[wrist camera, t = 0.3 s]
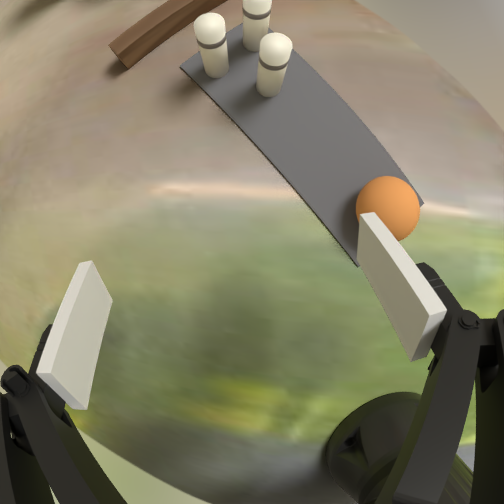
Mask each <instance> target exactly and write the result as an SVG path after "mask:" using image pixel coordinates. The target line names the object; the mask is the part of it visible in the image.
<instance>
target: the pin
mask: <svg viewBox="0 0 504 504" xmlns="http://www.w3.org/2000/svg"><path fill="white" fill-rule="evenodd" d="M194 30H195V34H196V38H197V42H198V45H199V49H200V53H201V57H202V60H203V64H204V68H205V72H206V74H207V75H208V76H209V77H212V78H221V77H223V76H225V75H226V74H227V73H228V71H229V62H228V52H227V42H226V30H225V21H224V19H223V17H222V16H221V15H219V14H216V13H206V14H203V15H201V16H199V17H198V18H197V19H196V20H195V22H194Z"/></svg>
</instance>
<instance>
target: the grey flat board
mask: <svg viewBox="0 0 504 504" xmlns="http://www.w3.org/2000/svg"><path fill="white" fill-rule="evenodd" d="M269 33H274V32H273V31H272V30H271V29H269V28H268V34H269ZM226 42H227V52H228V62H229V71H228V73H227V74H226V75H225V76H223V77H221V78H212V77H209V76H208V75H207V74H206V72H205V68H204V64H203V60H202V57H201V53H200V51H199V52H198V53H196V54H195V55H193V56H192V57H191V58H189V59H188V60H186V61H185V62H184V63H182V64H181V65H180V67H181V68H182V69H183V70H184V71H185V72H186V73H187V74H188V75H189V76H190V77H191V78H192V79H193V80H194V81H195V82H196V83H197V84H198V85H199V86H200V87H201V88H202V89H203V90H204V91H205V92H206V93H207V94H208V95H209V96H210V97H211V98H212V99H213V100H214V101H215V102H216V103H217V104H218V105H219V106H220V107H221V108H222V109H223V110H224V111H225V112H226V113H227V114H228V115H229V116H230V118H231V119H232V120H233V121H234V122H235V123H236V124H237V125H238V126H239V127H240V128H241V129H242V130H243V131H244V132H245V133H246V135H247V136H248V137H249V138H250V139H251V140H252V141H253V142H254V143H255V144H256V145H257V147H258V148H259V149H260V150H261V151H262V152H263V153H264V154H265V155H266V157H267V158H268V159H269V160H270V161H271V162H272V163H273V164H274V165H275V167H276V168H277V169H278V170H279V171H280V172H281V173H282V175H283V176H284V177H285V178H286V179H287V180H288V181H289V183H290V184H291V185H292V186H293V187H294V188H295V190H296V191H297V192H298V193H299V194H300V195H301V197H302V198H303V199H304V200H305V201H306V203H307V204H308V205H309V206H310V207H311V209H312V210H313V211H314V212H315V213H316V215H317V216H318V217H319V218H320V219H321V221H322V222H323V223H324V224H325V226H326V227H327V228H328V229H329V231H330V232H331V233H332V234H333V235H334V237H335V238H336V239H337V240H338V242H339V243H340V244H341V245H342V247H343V248H344V249H345V251H346V252H347V253H348V254H349V256H350V257H351V258H352V260H353V261H354V262H355V263H356V265H357V266H358V267H359V266H360V265H359V263H358V261H357V249H358V236H359V222H358V219H357V215H356V202H357V198H358V195H359V193H360V191H361V189H362V188H363V187H364V186H365V185H366V184H367V183H368V182H369V181H371V180H373V179H375V178H377V177H382V176H392V177H396V178H399V179H401V180H403V181H405V182H406V183H407V184H409V185H410V187H411V188H412V189H413V190H414V192H415V193H416V195H417V198H418V201H419V205H420V207H421V206H422V205H423V204H424V202H423V200H422V199H421V198H420V196H419V195H418V193H417V192H416V190H415V189H414V187H413V186H412V185H411V183H410V182H409V180H408V179H407V178H406V176H405V175H404V173H403V172H402V171H401V169H400V168H399V167H398V165H397V164H396V163H395V161H394V160H393V159H392V157H391V156H390V155H389V154H388V152H387V151H386V150H385V148H384V147H383V146H382V145H381V143H380V142H379V141H378V140H377V138H376V137H375V136H374V135H373V134H372V132H371V131H370V130H369V129H368V127H367V126H366V125H365V124H364V123H363V122H362V120H361V119H360V118H359V117H358V116H357V115H356V114H355V112H354V111H353V110H352V109H351V108H350V107H349V106H348V105H347V103H346V102H345V101H344V100H343V99H342V98H341V97H340V96H339V95H338V94H337V93H336V91H335V90H334V89H333V88H332V87H331V86H330V85H329V84H328V83H327V82H326V81H325V80H324V79H323V78H322V77H321V76H320V75H319V74H318V73H317V72H316V71H315V70H314V69H313V68H312V67H311V66H310V65H309V64H308V63H307V62H306V61H305V60H304V59H303V58H302V57H301V56H300V55H299V54H297V53H296V52H295V51H294V50H293V49H292V50H291V54H290V58H289V62H288V65H287V68H286V72H285V75H284V79H283V83H282V86H281V90H280V92H279V93H278V94H277V95H276V96H274V97H264V96H262V95H261V94H259V92H258V91H257V88H256V84H257V72H258V61H259V51H256V52H253V51H249V50H247V49H246V48H245V47H244V45H243V23H241V24H240V25H238V26H237V27H235V28H233V29H232V30H230V31H229V32H227V33H226Z"/></svg>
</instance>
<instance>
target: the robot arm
mask: <svg viewBox="0 0 504 504" xmlns="http://www.w3.org/2000/svg"><path fill="white" fill-rule="evenodd" d="M357 261H358V263H359V265H360V267H361V268H362V270H363V272H364V274H365V275H366V277H367V279H368V281H369V283H370V284H371V286H372V288H373V290H374V292H375V293H376V295H377V297H378V299H379V301H380V303H381V304H382V306H383V308H384V310H385V312H386V314H387V316H388V318H389V320H390V322H391V323H392V325H393V327H394V329H395V331H396V333H397V335H398V337H399V339H400V341H401V343H402V345H403V347H404V349H405V351H406V353H407V355H408V357H409V359H410V361H411V362H412V361H415V360H418V359H421V358H424V357H427V355H428V353H429V350H430V348H431V349H432V350H433V352H434V354H435V356H434V357H433V359H432V361H431V363H430V365H429V367H428V370H429V374H428V377H427V380H426V383H425V386H424V389H423V393H422V396H421V395H419V394H416V393H412V392H397V393H391V394H387V395H384V396H381V397H379V398H376V399H374V400H372V401H370V402H368V403H366V404H365V405H363V406H361V407H360V408H358V409H357V410H355V411H354V412H353V413H352V414H350V415H349V416H348V417H347V418H346V419H345V420H344V421H343V422H342V423H341V424H340V425H339V427H338V428H337V429H336V430H335V432H334V433H333V435H332V437H331V439H330V441H329V443H328V446H327V450H326V461H327V464H328V467H329V470H330V473H331V475H332V477H333V479H334V480H335V482H336V483H337V484H338V485H339V486H341V487H342V488H343V489H344V490H345V491H346V492H347V493H348V494H349V495H350V496H351V497H352V498H353V499H354V500H355V501H356V502H357V503H358V504H504V309H503V310H501V311H500V312H499V313H498V315H497V317H496V318H493V319H480V318H479V317H478V316H477V315H476V314H475V313H474V312H471V311H469V310H463V309H462V307H461V306H460V304H459V303H458V302H457V300H456V299H455V297H454V296H453V295H452V293H451V292H450V290H449V289H448V288H447V286H445V284H444V282H443V281H442V280H441V279H440V277H439V276H438V274H437V273H436V272H435V270H434V269H433V268H431V267H430V266H429V265H427V264H426V263H424V262H423V263H419V264H415V263H414V262H413V261H412V259H411V258H410V257H409V255H408V254H407V253H406V251H405V250H404V249H403V247H402V246H401V245H400V244H399V242H398V241H397V240H396V238H395V237H394V236H393V235H392V233H391V232H390V231H389V230H388V228H387V227H386V226H385V225H384V223H383V222H382V221H381V220H380V218H379V217H378V216H377V215H376V214H375V212H371V213H364V214H360V221H359V236H358V249H357ZM112 301H113V300H112V298H111V296H110V295H109V293H108V291H107V289H106V287H105V285H104V283H103V281H102V279H101V277H100V275H99V273H98V271H97V269H96V267H95V265H94V263H93V261H87V262H81V263H79V265H78V267H77V270H76V272H75V274H74V276H73V278H72V280H71V283H70V285H69V287H68V289H67V292H66V294H65V296H64V299H63V301H62V303H61V306H60V308H59V311H58V313H57V316H56V318H55V321H54V323H53V324H50V325H49V326H48V327H47V328H46V330H45V331H44V332H43V334H42V336H41V339H40V342H39V343H40V344H38V347H37V352H36V353H35V355H34V358H33V361H32V364H31V367H30V370H29V373H28V374H27V373H26V371H25V370H24V369H23V368H22V367H21V366H19V365H12V366H10V367H9V368H8V369H7V370H6V371H5V372H4V374H3V375H2V377H1V381H0V382H1V387H2V388H3V389H4V390H5V391H6V392H7V393H6V394H2V393H1V392H0V504H55V503H54V500H53V496H52V493H51V490H50V487H51V489H52V491H53V493H54V494H55V496H56V498H57V500H58V502H59V503H60V504H127V502H126V501H125V500H124V499H123V497H122V496H121V495H120V493H119V492H118V491H117V489H116V488H115V487H114V485H113V484H112V483H111V481H110V480H109V478H108V477H107V476H106V474H105V473H104V471H103V470H102V468H101V467H100V465H99V464H98V462H97V461H96V459H95V458H94V456H93V455H92V453H91V452H90V450H89V448H88V447H87V445H86V444H85V442H84V440H83V439H82V437H81V435H80V433H79V432H78V430H77V428H76V426H75V425H74V423H73V421H72V419H71V418H70V416H69V414H68V412H67V411H66V410H65V409H64V407H65V403H67V404H68V405H69V406H70V407H71V408H72V409H83V410H87V408H88V402H89V397H90V392H91V387H92V382H93V377H94V372H95V368H96V363H97V359H98V355H99V350H100V346H101V342H102V338H103V334H104V330H105V326H106V323H107V319H108V315H109V312H110V308H111V304H112ZM474 380H475V387H476V443H475V460H474V471H473V472H472V471H471V470H470V468H469V467H468V466H467V465H466V464H465V463H464V462H463V461H462V459H461V458H460V457H459V456H458V455H457V454H456V452H457V449H458V445H459V442H460V439H461V435H462V432H463V428H464V424H465V421H466V417H467V413H468V408H469V404H470V400H471V395H472V390H473V385H474ZM11 433H12V438H11ZM49 485H50V486H49Z"/></svg>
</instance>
